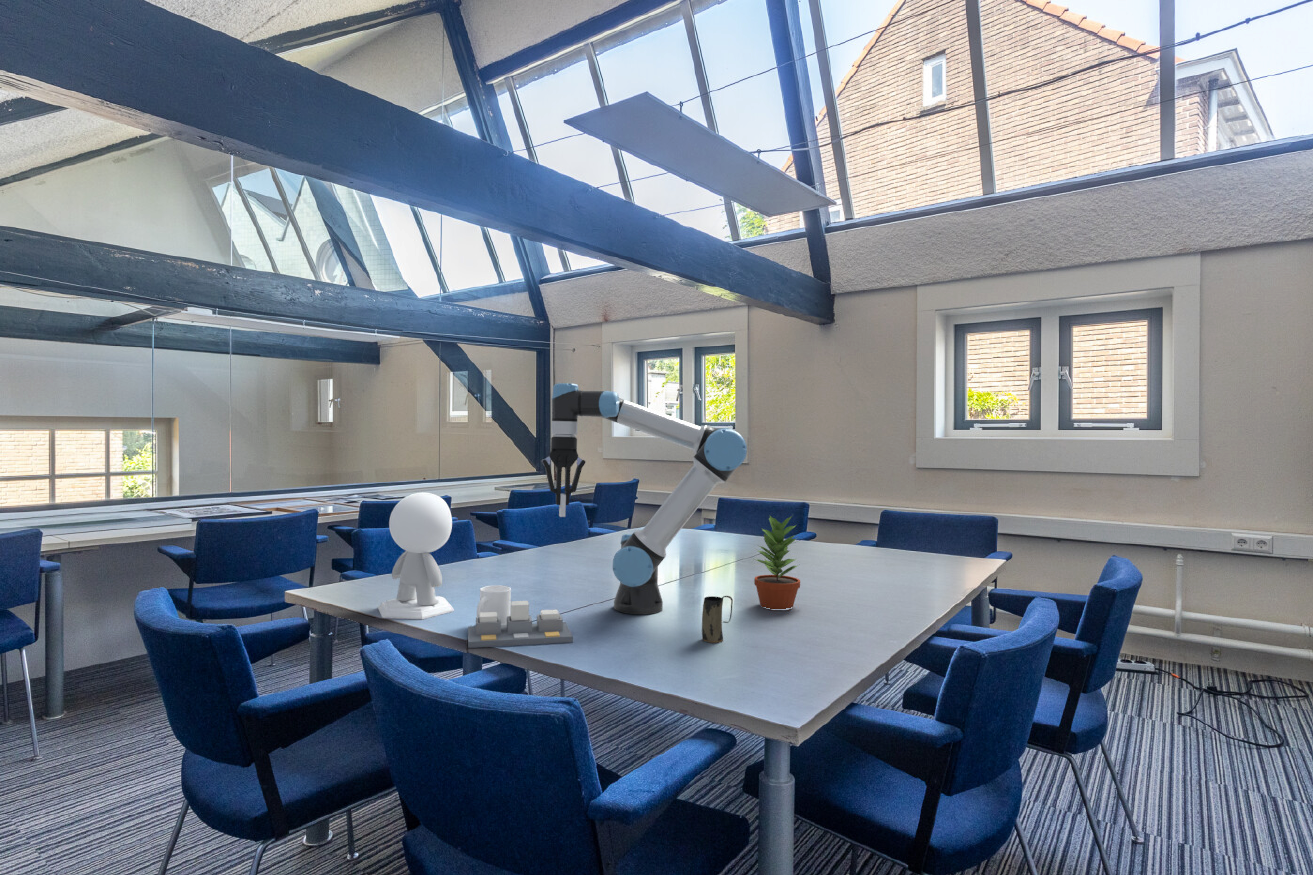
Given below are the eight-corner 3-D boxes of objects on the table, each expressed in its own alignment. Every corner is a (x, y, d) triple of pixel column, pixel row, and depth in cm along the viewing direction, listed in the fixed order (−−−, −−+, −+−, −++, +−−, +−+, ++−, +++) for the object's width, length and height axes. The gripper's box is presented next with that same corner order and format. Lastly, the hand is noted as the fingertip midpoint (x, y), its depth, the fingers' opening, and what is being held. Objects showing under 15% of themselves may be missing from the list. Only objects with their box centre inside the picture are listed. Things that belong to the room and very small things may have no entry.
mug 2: (699, 641, 181) (700, 596, 181) (704, 636, 187) (705, 591, 187) (728, 645, 179) (729, 599, 179) (733, 639, 184) (734, 594, 184)
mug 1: (489, 635, 183) (490, 596, 183) (464, 630, 186) (465, 592, 186) (515, 624, 194) (516, 587, 194) (491, 620, 197) (492, 584, 197)
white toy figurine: (468, 607, 210) (471, 492, 210) (405, 624, 191) (408, 497, 191) (425, 598, 221) (427, 488, 221) (360, 612, 202) (363, 492, 202)
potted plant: (751, 600, 229) (753, 509, 229) (798, 602, 227) (800, 511, 227) (751, 611, 215) (753, 514, 215) (801, 614, 213) (803, 516, 213)
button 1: (556, 624, 188) (557, 609, 188) (558, 628, 183) (559, 613, 183) (540, 625, 186) (540, 610, 186) (542, 629, 182) (542, 614, 182)
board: (565, 627, 191) (565, 611, 191) (572, 642, 178) (573, 624, 178) (468, 632, 185) (468, 615, 185) (468, 647, 171) (468, 629, 171)
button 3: (496, 627, 183) (496, 611, 183) (497, 631, 179) (497, 616, 179) (479, 627, 182) (479, 612, 182) (479, 632, 178) (479, 617, 178)
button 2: (527, 615, 185) (527, 600, 185) (528, 619, 181) (528, 604, 181) (510, 616, 184) (510, 601, 184) (511, 620, 180) (511, 605, 180)
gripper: (584, 436, 208) (582, 514, 208) (540, 435, 205) (538, 515, 205) (588, 436, 201) (586, 517, 201) (543, 435, 198) (541, 518, 198)
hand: (562, 516), depth 203 cm, fingers closed
